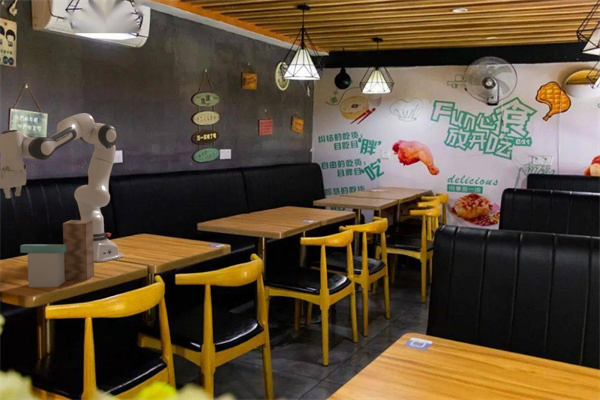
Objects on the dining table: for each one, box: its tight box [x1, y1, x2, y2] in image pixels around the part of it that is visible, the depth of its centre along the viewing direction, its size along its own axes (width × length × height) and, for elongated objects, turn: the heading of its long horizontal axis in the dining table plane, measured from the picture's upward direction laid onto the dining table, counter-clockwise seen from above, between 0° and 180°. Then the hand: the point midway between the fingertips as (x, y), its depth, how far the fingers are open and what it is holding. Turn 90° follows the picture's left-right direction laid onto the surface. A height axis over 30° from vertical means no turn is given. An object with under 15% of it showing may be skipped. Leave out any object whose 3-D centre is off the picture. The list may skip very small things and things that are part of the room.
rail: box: [19, 243, 66, 254], centre depth 242 cm, size 18×4×3 cm, turn 94°
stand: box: [62, 219, 95, 282], centre depth 255 cm, size 10×10×26 cm
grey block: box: [26, 253, 66, 288], centre depth 243 cm, size 12×9×14 cm
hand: (13, 197), depth 251 cm, fingers open, 8 cm apart
